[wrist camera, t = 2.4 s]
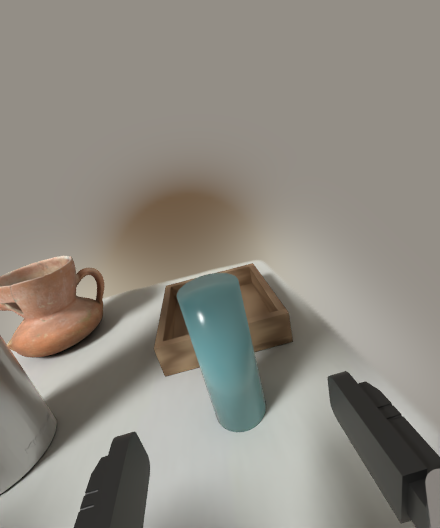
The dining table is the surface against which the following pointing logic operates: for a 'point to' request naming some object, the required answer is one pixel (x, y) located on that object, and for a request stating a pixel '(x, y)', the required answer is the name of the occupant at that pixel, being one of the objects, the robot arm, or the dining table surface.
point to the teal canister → (224, 349)
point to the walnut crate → (257, 312)
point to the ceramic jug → (50, 306)
